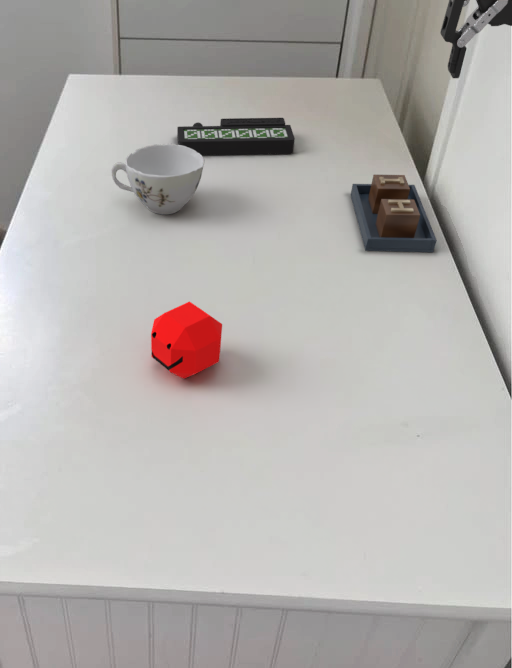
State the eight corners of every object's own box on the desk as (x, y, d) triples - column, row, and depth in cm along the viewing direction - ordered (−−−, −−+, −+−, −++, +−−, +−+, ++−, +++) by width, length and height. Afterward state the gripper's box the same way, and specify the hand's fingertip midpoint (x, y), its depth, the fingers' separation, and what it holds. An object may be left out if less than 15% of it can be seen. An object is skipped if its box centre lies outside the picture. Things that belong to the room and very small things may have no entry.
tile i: (398, 199, 119) (405, 172, 116) (403, 214, 116) (410, 187, 112) (367, 199, 119) (373, 172, 116) (372, 213, 116) (378, 186, 113)
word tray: (411, 196, 121) (414, 184, 119) (433, 252, 109) (437, 240, 107) (350, 195, 121) (352, 183, 120) (365, 251, 109) (367, 238, 108)
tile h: (407, 224, 113) (414, 197, 110) (413, 241, 110) (420, 213, 107) (375, 224, 114) (381, 196, 110) (380, 240, 110) (386, 212, 107)
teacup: (207, 192, 123) (209, 144, 117) (196, 228, 114) (198, 178, 109) (121, 185, 125) (119, 138, 119) (105, 220, 117) (101, 171, 111)
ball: (141, 361, 92) (140, 311, 86) (190, 338, 95) (191, 288, 89) (181, 394, 87) (182, 343, 82) (230, 368, 90) (234, 317, 85)
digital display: (288, 114, 137) (295, 137, 130) (285, 132, 139) (293, 155, 133) (177, 116, 137) (178, 139, 130) (176, 133, 139) (178, 157, 133)
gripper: (473, -67, 82) (437, 87, 94) (604, -71, 81) (551, 85, 92) (459, -80, 87) (427, 67, 99) (582, -84, 86) (535, 66, 98)
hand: (487, 76), depth 96 cm, fingers open, 8 cm apart
